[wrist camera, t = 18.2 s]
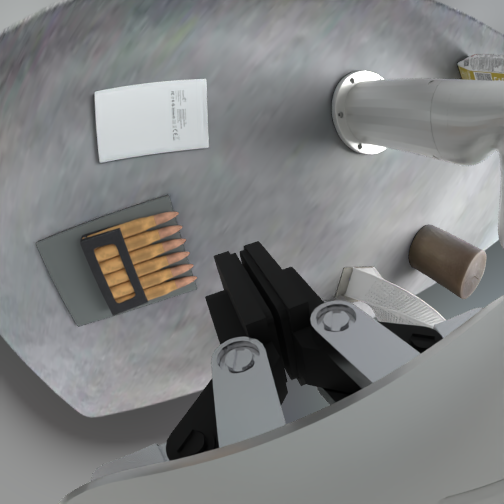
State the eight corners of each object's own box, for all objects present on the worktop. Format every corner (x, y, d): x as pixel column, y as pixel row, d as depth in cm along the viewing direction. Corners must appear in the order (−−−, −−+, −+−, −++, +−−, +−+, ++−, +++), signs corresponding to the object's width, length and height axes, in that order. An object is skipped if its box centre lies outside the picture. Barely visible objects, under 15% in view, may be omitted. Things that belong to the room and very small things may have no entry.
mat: (168, 194, 33) (169, 195, 33) (196, 286, 39) (197, 289, 39) (37, 241, 29) (35, 243, 29) (78, 324, 35) (78, 326, 35)
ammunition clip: (78, 241, 29) (177, 207, 32) (81, 235, 30) (175, 203, 33) (113, 316, 34) (200, 286, 37) (113, 308, 35) (197, 280, 38)
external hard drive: (96, 92, 26) (204, 80, 29) (101, 161, 29) (206, 147, 33) (94, 91, 24) (206, 78, 28) (99, 163, 28) (209, 148, 32)
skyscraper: (344, 258, 47) (479, 365, 23) (379, 258, 50) (502, 347, 26) (332, 303, 50) (443, 416, 26) (365, 298, 53) (472, 394, 29)
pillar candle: (405, 274, 54) (459, 311, 41) (411, 229, 49) (473, 263, 37) (433, 259, 56) (484, 291, 44) (439, 218, 52) (496, 246, 39)
